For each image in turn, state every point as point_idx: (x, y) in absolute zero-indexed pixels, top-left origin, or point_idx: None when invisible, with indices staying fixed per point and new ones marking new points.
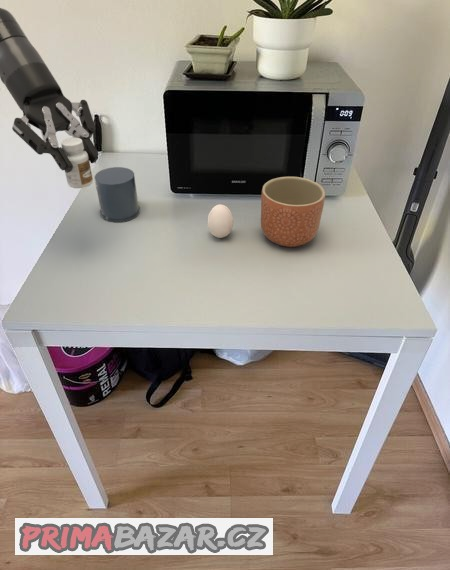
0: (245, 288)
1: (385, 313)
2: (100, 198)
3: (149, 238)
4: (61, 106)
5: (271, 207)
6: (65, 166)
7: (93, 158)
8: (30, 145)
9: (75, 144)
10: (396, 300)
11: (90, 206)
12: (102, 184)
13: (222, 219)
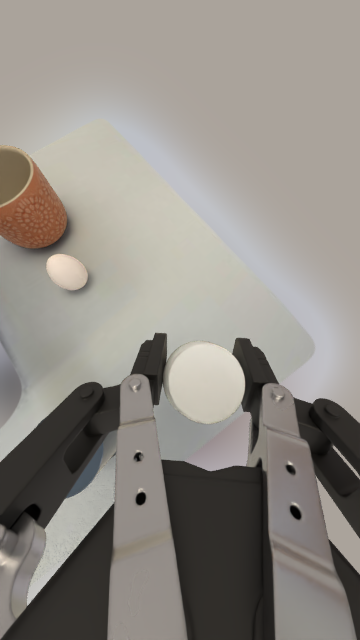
0: (141, 217)
1: (105, 137)
2: (115, 444)
3: (129, 342)
4: (138, 623)
5: (38, 190)
6: (255, 347)
7: (166, 340)
8: (355, 476)
9: (214, 345)
10: (86, 136)
11: (112, 483)
12: (103, 442)
13: (71, 257)
